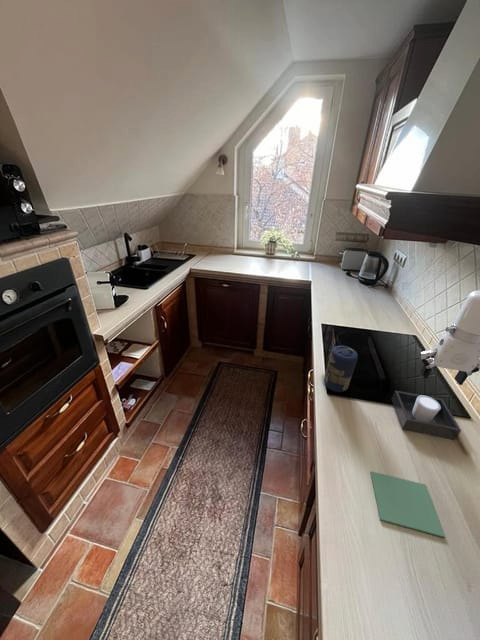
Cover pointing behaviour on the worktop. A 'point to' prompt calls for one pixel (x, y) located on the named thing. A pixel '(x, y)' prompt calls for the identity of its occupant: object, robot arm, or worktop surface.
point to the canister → (340, 368)
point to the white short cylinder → (425, 408)
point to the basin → (438, 426)
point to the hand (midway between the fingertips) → (440, 378)
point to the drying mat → (405, 504)
